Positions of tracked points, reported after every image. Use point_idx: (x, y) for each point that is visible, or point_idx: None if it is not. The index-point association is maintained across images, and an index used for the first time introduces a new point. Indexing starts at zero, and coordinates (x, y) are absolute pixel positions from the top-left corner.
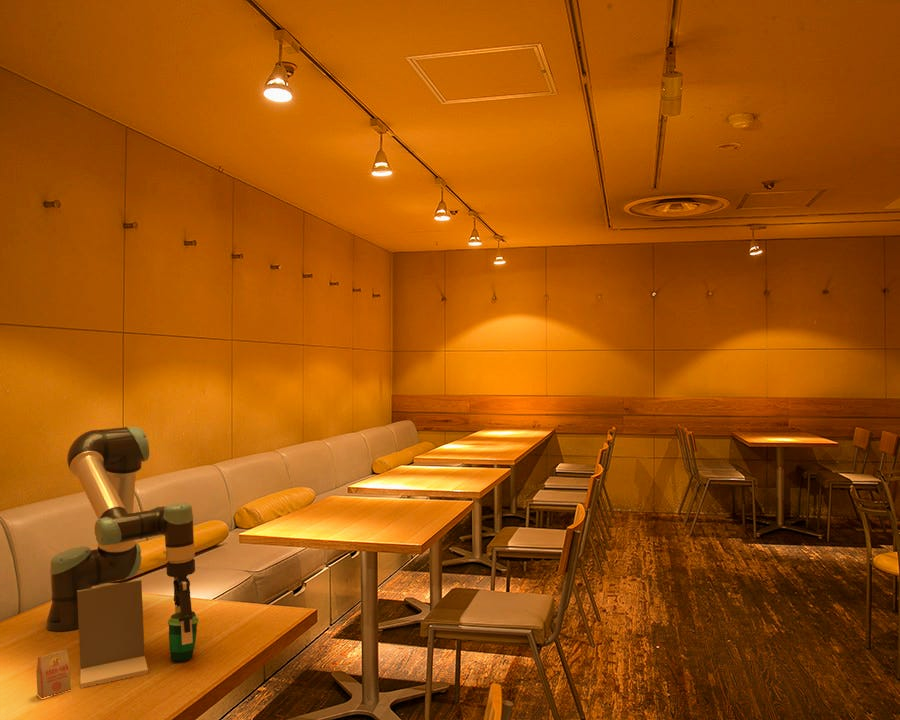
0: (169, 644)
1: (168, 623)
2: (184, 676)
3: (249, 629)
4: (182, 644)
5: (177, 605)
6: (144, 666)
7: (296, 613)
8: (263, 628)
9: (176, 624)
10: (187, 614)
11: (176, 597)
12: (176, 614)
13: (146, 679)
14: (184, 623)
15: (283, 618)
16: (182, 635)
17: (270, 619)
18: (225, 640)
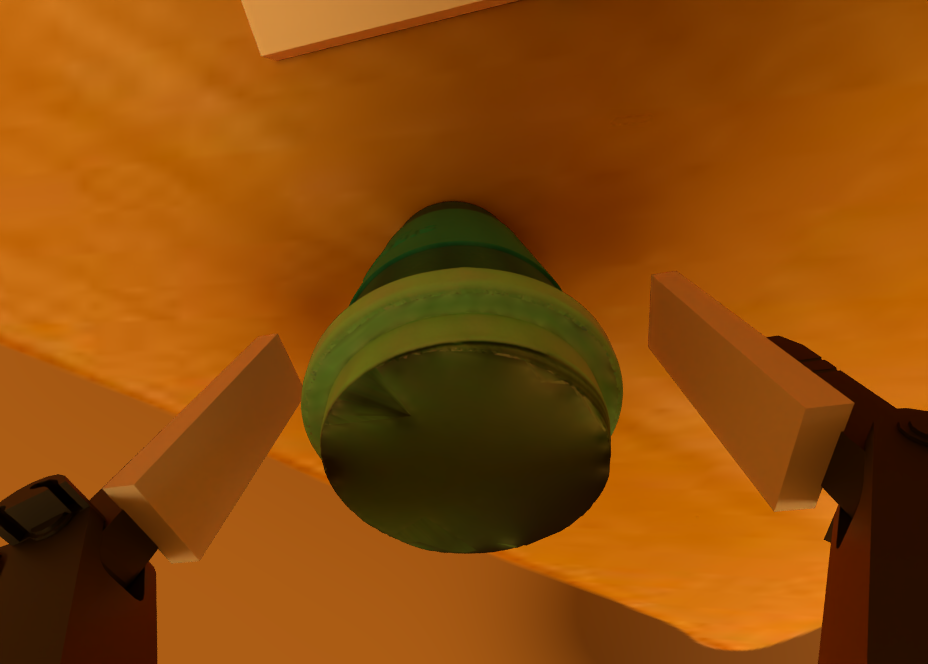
0: (430, 220)
1: (392, 285)
2: (216, 284)
3: (690, 516)
4: (255, 339)
5: (851, 441)
6: (319, 17)
7: (743, 627)
8: (662, 550)
9: (305, 376)
10: (452, 504)
11: (864, 644)
12: (515, 406)
13: (188, 61)
14: (98, 494)
15: (724, 599)
16: (217, 382)
17: (750, 572)
18: (615, 440)
